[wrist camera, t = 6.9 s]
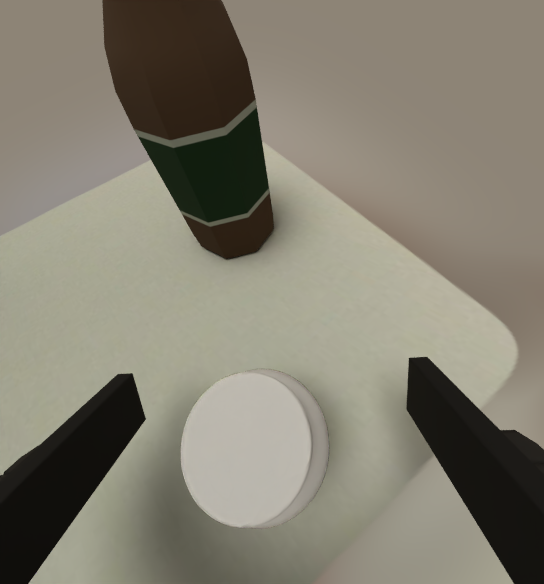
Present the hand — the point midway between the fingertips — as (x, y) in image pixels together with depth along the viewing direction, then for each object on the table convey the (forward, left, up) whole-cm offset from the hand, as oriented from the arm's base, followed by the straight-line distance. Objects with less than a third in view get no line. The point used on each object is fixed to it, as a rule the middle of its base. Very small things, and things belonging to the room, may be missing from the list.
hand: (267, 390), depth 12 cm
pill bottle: (-1, -2, -6) cm, 6 cm away
